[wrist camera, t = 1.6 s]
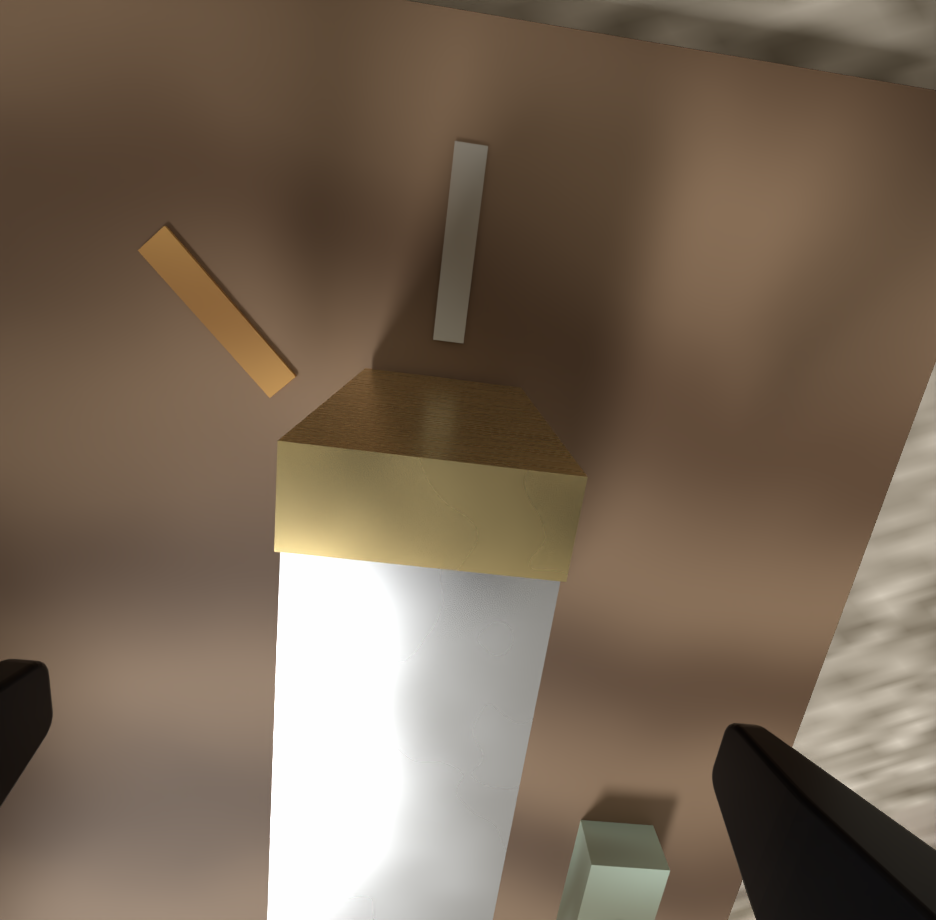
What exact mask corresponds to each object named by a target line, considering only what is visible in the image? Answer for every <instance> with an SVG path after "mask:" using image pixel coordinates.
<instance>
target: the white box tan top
mask: <svg viewBox="0 0 936 920" xmlns="http://www.w3.org/2000/svg"><path fill="white" fill-rule="evenodd" d="M587 478H588V477H587V475H586V474H585V473H584V471H583V470H582V469H581V467H580V466H579V465H578V463H577V462H576V461H575V459H574V458H573V457H572V455H571V454H570V453H569V451H568V450H567V449H566V447H565V446H564V445H563V443H562V442H561V440H560V439H559V438H558V436H557V435H556V434H555V432H554V431H553V430H552V428H551V427H550V426H549V424H548V423H547V422H546V420H545V419H544V418H543V416H542V415H541V414H540V412H539V411H538V410H537V408H536V407H535V406H534V404H533V403H532V402H531V400H530V399H529V398H528V396H527V395H526V394H525V392H524V391H523V390H522V388H520V387H512V386H504V385H496V384H488V383H480V382H472V381H464V380H457V379H449V378H441V377H433V376H425V375H417V374H409V373H401V372H393V371H385V370H377V369H370V368H365V369H364V370H362V371H361V372H360V373H359V374H358V375H356V376H355V377H354V378H353V379H352V380H350V381H349V382H348V383H347V384H346V385H344V386H343V387H342V388H341V389H339V390H338V391H337V392H336V393H335V394H333V395H332V396H331V397H330V398H329V399H327V400H326V401H325V402H324V403H323V404H321V405H320V406H319V407H318V408H317V409H315V410H314V411H313V412H312V413H310V414H309V415H308V416H307V417H306V418H304V419H303V420H302V421H301V422H300V423H298V424H297V425H296V426H295V427H294V428H292V429H291V430H290V431H289V432H288V433H286V434H285V435H284V436H283V437H281V438H280V439H279V440H278V444H277V475H276V507H275V539H274V552H280V577H279V605H278V634H277V662H276V691H275V719H274V748H273V776H272V805H271V833H270V862H269V890H268V919H267V920H493V916H494V911H495V906H496V901H497V896H498V891H499V886H500V881H501V876H502V871H503V866H504V861H505V856H506V851H507V846H508V841H509V836H510V831H511V826H512V821H513V816H514V811H515V806H516V801H517V796H518V791H519V786H520V781H521V776H522V771H523V766H524V761H525V756H526V751H527V746H528V741H529V736H530V731H531V726H532V721H533V716H534V711H535V706H536V701H537V696H538V691H539V686H540V681H541V676H542V671H543V666H544V661H545V656H546V651H547V646H548V641H549V636H550V631H551V626H552V621H553V616H554V611H555V606H556V601H557V596H558V591H559V586H560V581H562V582H566V581H567V576H568V571H569V566H570V562H571V557H572V552H573V547H574V542H575V537H576V532H577V527H578V522H579V517H580V512H581V508H582V503H583V498H584V493H585V488H586V483H587Z"/></svg>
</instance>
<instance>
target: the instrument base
mask: <svg viewBox="0 0 936 920" xmlns="http://www.w3.org/2000/svg"><path fill="white" fill-rule="evenodd" d="M935 362H936V90H931V89H925V88H919V87H913V86H907V85H901V84H895V83H890V82H884V81H878V80H872V79H866V78H860V77H854V76H848V75H843V74H837V73H831V72H825V71H819V70H813V69H807V68H801V67H795V66H790V65H784V64H778V63H772V62H766V61H760V60H754V59H748V58H742V57H737V56H731V55H725V54H719V53H713V52H707V51H701V50H695V49H690V48H684V47H678V46H672V45H666V44H660V43H654V42H648V41H642V40H637V39H631V38H625V37H619V36H613V35H607V34H601V33H595V32H589V31H584V30H578V29H572V28H566V27H560V26H554V25H548V24H542V23H537V22H531V21H525V20H519V19H513V18H507V17H501V16H495V15H489V14H484V13H478V12H472V11H466V10H460V9H454V8H448V7H442V6H436V5H431V4H425V3H419V2H413V1H407V0H0V661H3V660H6V659H24V660H36V661H41V662H43V663H45V665H46V666H47V667H48V670H49V678H50V688H51V697H52V707H53V718H52V723H51V726H50V729H49V731H48V733H47V735H46V737H45V738H44V740H43V742H42V743H41V745H40V746H39V748H38V749H37V751H36V753H35V754H34V756H33V757H32V759H31V760H30V762H29V763H28V765H27V767H26V768H25V770H24V771H23V773H22V774H21V776H20V778H19V779H18V781H17V782H16V784H15V785H14V787H13V789H12V790H11V792H10V793H9V795H8V796H7V798H6V799H5V801H4V803H3V804H2V806H1V807H0V920H267V919H268V890H269V862H270V833H271V805H272V776H273V748H274V719H275V691H276V662H277V634H278V605H279V577H280V552H274V539H275V507H276V475H277V444H278V440H279V439H280V438H281V437H283V436H284V435H285V434H286V433H288V432H289V431H290V430H291V429H292V428H294V427H295V426H296V425H297V424H298V423H300V422H301V421H302V420H303V419H304V418H306V417H307V416H308V415H309V414H310V413H312V412H313V411H314V410H315V409H317V408H318V407H319V406H320V405H321V404H323V403H324V402H325V401H326V400H327V399H329V398H330V397H331V396H332V395H333V394H335V393H336V392H337V391H338V390H339V389H341V388H342V387H343V386H344V385H346V384H347V383H348V382H349V381H350V380H352V379H353V378H354V377H355V376H356V375H358V374H359V373H360V372H361V371H362V370H364V369H365V368H370V369H377V370H385V371H393V372H401V373H409V374H417V375H425V376H433V377H441V378H449V379H457V380H464V381H472V382H480V383H488V384H496V385H504V386H512V387H520V388H522V390H523V391H524V392H525V394H526V395H527V396H528V398H529V399H530V400H531V402H532V403H533V404H534V406H535V407H536V408H537V410H538V411H539V412H540V414H541V415H542V416H543V418H544V419H545V420H546V422H547V423H548V424H549V426H550V427H551V428H552V430H553V431H554V432H555V434H556V435H557V436H558V438H559V439H560V440H561V442H562V443H563V445H564V446H565V447H566V449H567V450H568V451H569V453H570V454H571V455H572V457H573V458H574V459H575V461H576V462H577V463H578V465H579V466H580V467H581V469H582V470H583V471H584V473H585V474H586V475H587V477H588V478H587V483H586V488H585V493H584V498H583V503H582V508H581V512H580V517H579V522H578V527H577V532H576V537H575V542H574V547H573V552H572V557H571V562H570V566H569V571H568V576H567V581H566V582H562V581H560V586H559V591H558V596H557V601H556V606H555V611H554V616H553V621H552V626H551V631H550V636H549V641H548V646H547V651H546V656H545V661H544V666H543V671H542V676H541V681H540V686H539V691H538V696H537V701H536V706H535V711H534V716H533V721H532V726H531V731H530V736H529V741H528V746H527V751H526V756H525V761H524V766H523V771H522V776H521V781H520V786H519V791H518V796H517V801H516V806H515V811H514V816H513V821H512V826H511V831H510V836H509V841H508V846H507V851H506V856H505V861H504V866H503V871H502V876H501V881H500V886H499V891H498V896H497V901H496V906H495V911H494V916H493V920H728V917H729V915H730V912H731V909H732V907H733V904H734V901H735V899H736V896H737V893H738V891H739V888H740V885H741V883H742V880H743V879H742V876H741V873H740V870H739V867H738V864H737V861H736V857H735V854H734V851H733V848H732V845H731V842H730V839H729V836H728V832H727V829H726V826H725V823H724V820H723V817H722V814H721V811H720V807H719V804H718V801H717V798H716V795H715V792H714V788H713V783H712V770H713V766H714V763H715V759H716V756H717V753H718V750H719V747H720V744H721V741H722V738H723V735H724V732H725V730H726V728H727V727H728V726H729V725H730V724H732V723H744V724H755V725H760V726H762V727H764V728H765V729H767V730H768V731H770V732H771V733H772V734H774V735H775V736H777V737H778V738H779V739H781V740H782V741H784V742H785V743H786V744H788V745H789V746H791V747H792V746H793V743H794V740H795V738H796V735H797V732H798V730H799V727H800V724H801V722H802V719H803V716H804V714H805V711H806V708H807V705H808V703H809V700H810V697H811V695H812V692H813V689H814V687H815V684H816V681H817V679H818V676H819V673H820V671H821V668H822V665H823V663H824V660H825V657H826V654H827V652H828V649H829V646H830V644H831V641H832V638H833V636H834V633H835V630H836V628H837V625H838V622H839V620H840V617H841V614H842V612H843V609H844V606H845V603H846V601H847V598H848V595H849V593H850V590H851V587H852V585H853V582H854V579H855V577H856V574H857V571H858V569H859V566H860V563H861V561H862V558H863V555H864V552H865V550H866V547H867V544H868V542H869V539H870V536H871V534H872V531H873V528H874V526H875V523H876V520H877V518H878V515H879V512H880V510H881V507H882V504H883V501H884V499H885V496H886V493H887V491H888V488H889V485H890V483H891V480H892V477H893V475H894V472H895V469H896V467H897V464H898V461H899V459H900V456H901V453H902V451H903V448H904V445H905V442H906V440H907V437H908V434H909V432H910V429H911V426H912V424H913V421H914V418H915V416H916V413H917V410H918V408H919V405H920V402H921V400H922V397H923V394H924V391H925V389H926V386H927V383H928V381H929V378H930V375H931V373H932V370H933V367H934V365H935Z"/></svg>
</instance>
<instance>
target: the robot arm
mask: <svg viewBox="0 0 936 920" xmlns="http://www.w3.org/2000/svg"><path fill="white" fill-rule="evenodd" d="M52 718H53V707H52V697H51V688H50V678H49V670H48V667H47V666H46V665H45V663H43V662H41V661H36V660H24V659H6V660H3V661H0V807H1V806H2V804H3V803H4V801H5V799H6V798H7V796H8V795H9V793H10V792H11V790H12V789H13V787H14V785H15V784H16V782H17V781H18V779H19V778H20V776H21V774H22V773H23V771H24V770H25V768H26V767H27V765H28V763H29V762H30V760H31V759H32V757H33V756H34V754H35V753H36V751H37V749H38V748H39V746H40V745H41V743H42V742H43V740H44V738H45V737H46V735H47V733H48V731H49V729H50V726H51V723H52ZM712 783H713V788H714V792H715V795H716V798H717V801H718V804H719V807H720V811H721V814H722V817H723V820H724V823H725V826H726V829H727V832H728V836H729V839H730V842H731V845H732V848H733V851H734V854H735V857H736V861H737V864H738V867H739V870H740V873H741V876H742V879H743V883H744V886H745V889H746V892H747V895H748V898H749V901H750V904H751V906H752V909H753V912H754V915H755V918H756V920H936V850H935V849H933V848H932V847H931V846H929V845H928V844H926V843H925V842H924V841H922V840H921V839H919V838H918V837H917V836H915V835H914V834H912V833H911V832H910V831H908V830H907V829H905V828H904V827H903V826H901V825H900V824H898V823H897V822H896V821H894V820H893V819H891V818H890V817H889V816H887V815H886V814H884V813H883V812H882V811H880V810H879V809H877V808H876V807H875V806H873V805H872V804H870V803H869V802H868V801H866V800H865V799H863V798H862V797H861V796H859V795H858V794H856V793H855V792H854V791H852V790H851V789H849V788H848V787H847V786H845V785H844V784H842V783H841V782H840V781H838V780H837V779H835V778H834V777H833V776H831V775H830V774H828V773H827V772H826V771H824V770H823V769H821V768H820V767H819V766H817V765H816V764H814V763H813V762H812V761H810V760H809V759H807V758H806V757H805V756H803V755H802V754H800V753H799V752H798V751H796V750H795V749H793V748H792V747H791V746H789V745H788V744H786V743H785V742H784V741H782V740H781V739H779V738H778V737H777V736H775V735H774V734H772V733H771V732H770V731H768V730H767V729H765V728H764V727H762V726H760V725H755V724H744V723H732V724H730V725H729V726H728V727H727V728H726V730H725V732H724V735H723V738H722V741H721V744H720V747H719V750H718V753H717V756H716V759H715V763H714V766H713V770H712Z"/></svg>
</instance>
